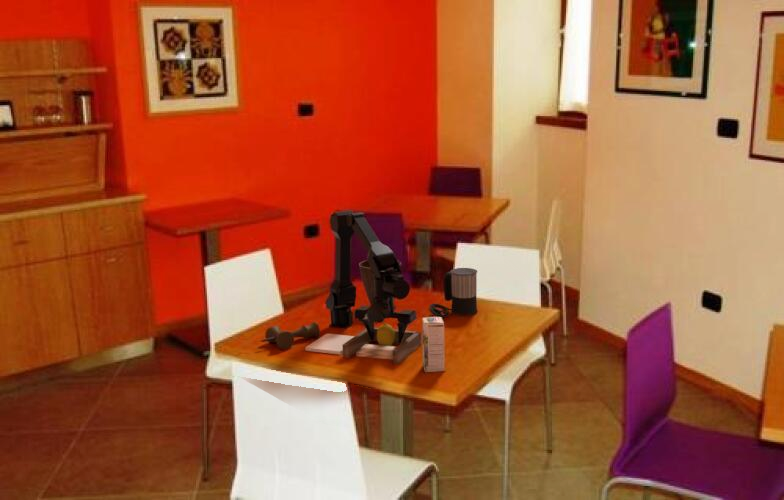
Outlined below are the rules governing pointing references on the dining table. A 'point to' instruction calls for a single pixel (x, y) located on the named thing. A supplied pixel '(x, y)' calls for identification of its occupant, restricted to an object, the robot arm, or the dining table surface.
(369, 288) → the plant pot
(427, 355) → the syrup box
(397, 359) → the walnut rack
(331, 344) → the tile
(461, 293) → the milk frother
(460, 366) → the dining table surface
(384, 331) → the lemon
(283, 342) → the kendama
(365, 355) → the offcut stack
